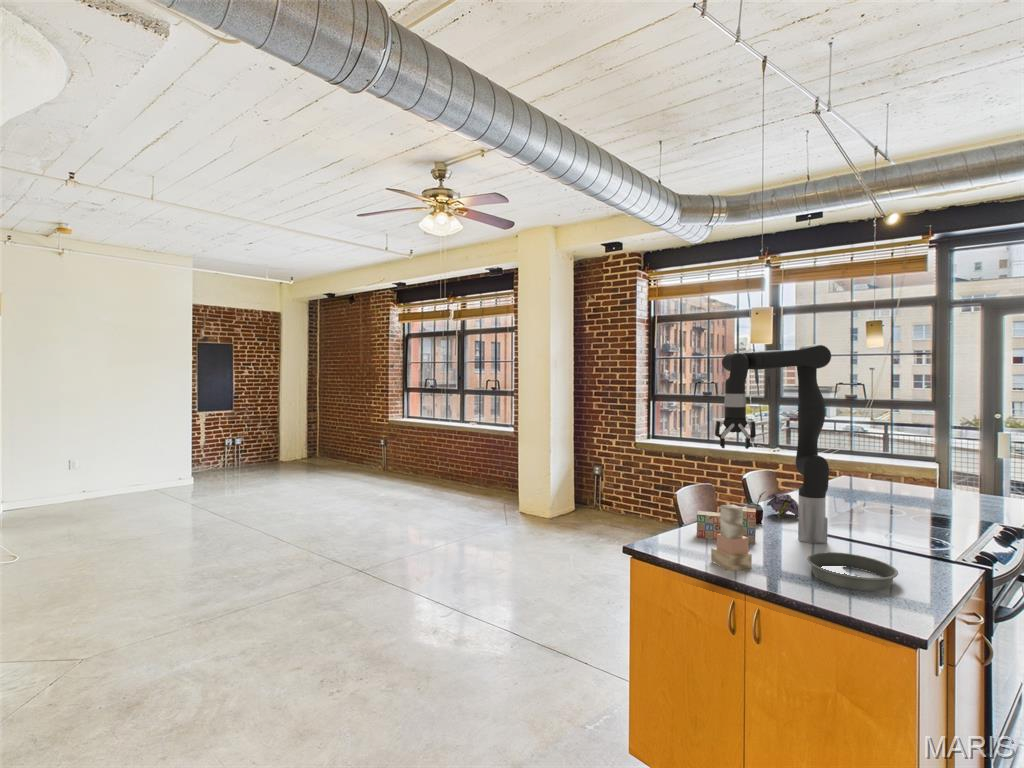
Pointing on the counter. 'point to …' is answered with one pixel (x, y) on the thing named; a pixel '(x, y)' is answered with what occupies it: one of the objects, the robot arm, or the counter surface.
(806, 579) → the counter surface
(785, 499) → the decorative flower
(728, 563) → the tower base
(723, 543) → the tower top
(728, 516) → the pillar
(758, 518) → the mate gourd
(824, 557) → the cake pan
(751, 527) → the stack of blocks
